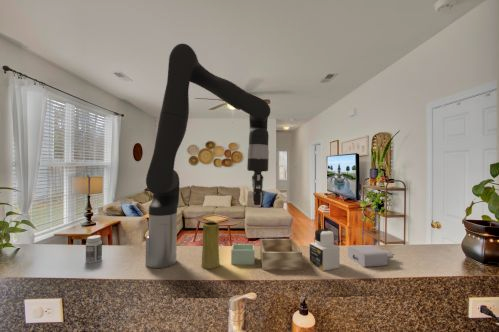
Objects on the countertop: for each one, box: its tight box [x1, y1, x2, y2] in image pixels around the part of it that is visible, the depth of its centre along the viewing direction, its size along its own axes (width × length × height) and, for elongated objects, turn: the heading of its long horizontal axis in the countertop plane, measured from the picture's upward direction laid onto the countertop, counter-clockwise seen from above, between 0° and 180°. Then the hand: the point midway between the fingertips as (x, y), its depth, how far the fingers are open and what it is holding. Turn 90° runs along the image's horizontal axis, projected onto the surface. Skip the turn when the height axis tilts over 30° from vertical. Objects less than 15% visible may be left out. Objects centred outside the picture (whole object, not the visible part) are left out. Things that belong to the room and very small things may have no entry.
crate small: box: [230, 243, 255, 265], centre depth 80 cm, size 8×6×5 cm
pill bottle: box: [85, 234, 103, 264], centre depth 79 cm, size 5×5×8 cm
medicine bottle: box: [309, 228, 341, 272], centre depth 77 cm, size 7×7×12 cm
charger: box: [347, 244, 395, 268], centre depth 81 cm, size 5×9×15 cm
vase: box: [201, 221, 220, 270], centre depth 76 cm, size 6×6×14 cm
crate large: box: [259, 238, 303, 271], centre depth 81 cm, size 13×15×6 cm
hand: (256, 203), depth 80 cm, fingers open, 8 cm apart
